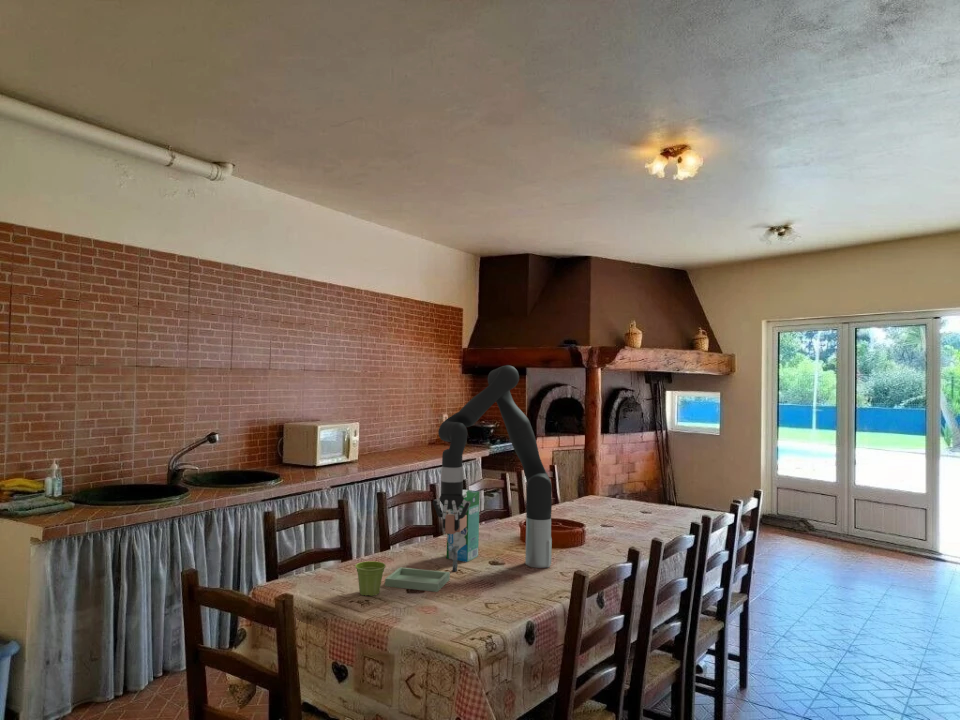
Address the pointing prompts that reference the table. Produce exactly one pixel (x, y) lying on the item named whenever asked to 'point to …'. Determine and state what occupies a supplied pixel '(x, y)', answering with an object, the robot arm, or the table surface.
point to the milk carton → (466, 530)
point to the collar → (451, 524)
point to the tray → (417, 579)
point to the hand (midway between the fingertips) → (451, 529)
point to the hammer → (455, 557)
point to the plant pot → (370, 577)
